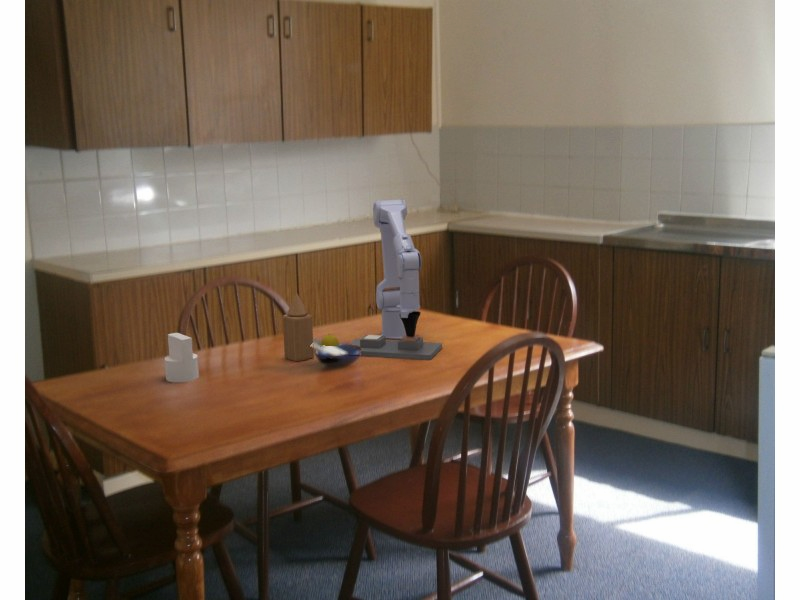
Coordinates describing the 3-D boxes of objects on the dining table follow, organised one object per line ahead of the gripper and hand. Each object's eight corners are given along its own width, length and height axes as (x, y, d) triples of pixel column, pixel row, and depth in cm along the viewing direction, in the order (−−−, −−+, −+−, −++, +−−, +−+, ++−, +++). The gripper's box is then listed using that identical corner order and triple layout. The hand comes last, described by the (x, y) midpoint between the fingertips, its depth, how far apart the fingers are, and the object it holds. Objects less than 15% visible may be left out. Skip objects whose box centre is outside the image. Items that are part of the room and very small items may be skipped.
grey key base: (356, 343, 287) (355, 330, 286) (442, 347, 279) (441, 335, 279) (340, 354, 274) (340, 341, 273) (430, 360, 266) (430, 346, 265)
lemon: (317, 360, 269) (316, 333, 267) (331, 356, 273) (330, 330, 271) (329, 363, 265) (328, 337, 263) (343, 359, 269) (342, 333, 267)
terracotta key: (405, 340, 277) (405, 334, 277) (419, 341, 276) (419, 334, 276) (401, 344, 273) (401, 337, 273) (415, 344, 272) (415, 338, 271)
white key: (368, 341, 281) (368, 334, 280) (382, 341, 279) (381, 335, 279) (363, 344, 277) (363, 338, 276) (377, 345, 275) (377, 339, 275)
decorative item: (314, 358, 271) (311, 292, 267) (296, 362, 267) (292, 295, 263) (302, 353, 276) (299, 289, 272) (283, 358, 272) (280, 292, 268)
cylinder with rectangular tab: (160, 377, 255) (157, 336, 253) (189, 371, 261) (186, 330, 258) (175, 384, 248) (171, 342, 246) (204, 377, 254) (201, 336, 251)
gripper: (402, 286, 279) (403, 329, 282) (390, 296, 265) (391, 341, 268) (425, 287, 277) (426, 330, 280) (413, 297, 264) (414, 342, 266)
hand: (410, 336), depth 274 cm, fingers closed
